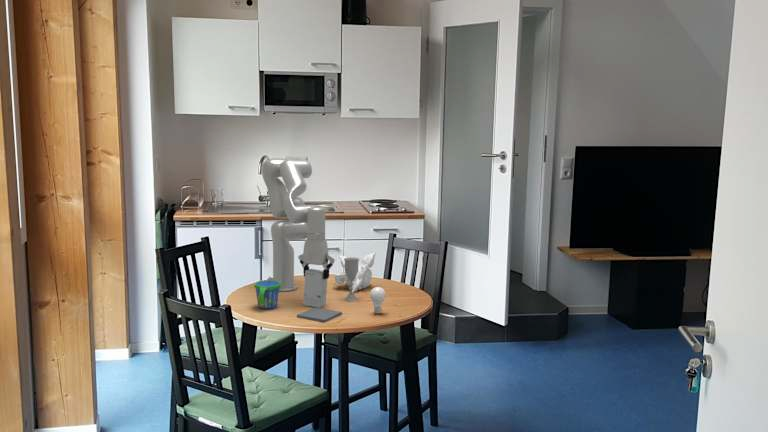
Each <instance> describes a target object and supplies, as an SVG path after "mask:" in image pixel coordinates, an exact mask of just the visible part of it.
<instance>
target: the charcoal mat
mask: <svg viewBox="0 0 768 432" xmlns="http://www.w3.org/2000/svg"><path fill="white" fill-rule="evenodd" d="M341 315H343V311H338V310H333V309H330V308H329V309H328V308H322V307H320V308H318V307H313V308H310V309H307V310H304V311H303V312H301V313H298V314H296V318H298V319H299V318H300V319H305V320H309V321H315V322H320V323H326V322H329V321H331V320H333V319H335V318H337V317H340V316H341Z"/></svg>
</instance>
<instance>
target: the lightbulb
mask: <svg viewBox="0 0 768 432" xmlns="http://www.w3.org/2000/svg"><path fill="white" fill-rule="evenodd" d="M386 295H387V294H386V291H385V289H384V288H383V287H381V286H375V287H373V288H372V289H371V291H370V292H369V297H370V299H371V301H372V303H373V309H374V313H375V314H377V315H378V314H380V313H381V311H382V310H381V309H382V305H383V302H384V301H385V299H386Z"/></svg>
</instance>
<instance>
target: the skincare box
mask: <svg viewBox="0 0 768 432" xmlns="http://www.w3.org/2000/svg"><path fill="white" fill-rule="evenodd" d="M327 289H328V278H327V279H323V270H321V269H315V268H309V270H306V271H305V277H304V286H303V302H302V303H303V306H305V307H306V306H307V307H313V308H314V307H317V308H322V307H324V306H326V305H327V293H328V291H327Z"/></svg>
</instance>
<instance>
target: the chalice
mask: <svg viewBox="0 0 768 432" xmlns="http://www.w3.org/2000/svg"><path fill="white" fill-rule="evenodd" d="M347 257H348V256H347ZM344 261H345V269H344V272H345V273H346V275H347V278H348V279H349V280H350V284H349V285H350V288H349V287H348V289H350V290H349V293H347V294H346V297H345V301H347V302H355V301H357V300H358V299H357V297H356V294H354V293H352V289H353V288H352V285H353V283H352V281H353V280H354V279H355V277H356V275H357V272H358V265H359V261H360V258H359V257H353V256H352V257H351V256H350V257H348V258H344Z"/></svg>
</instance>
